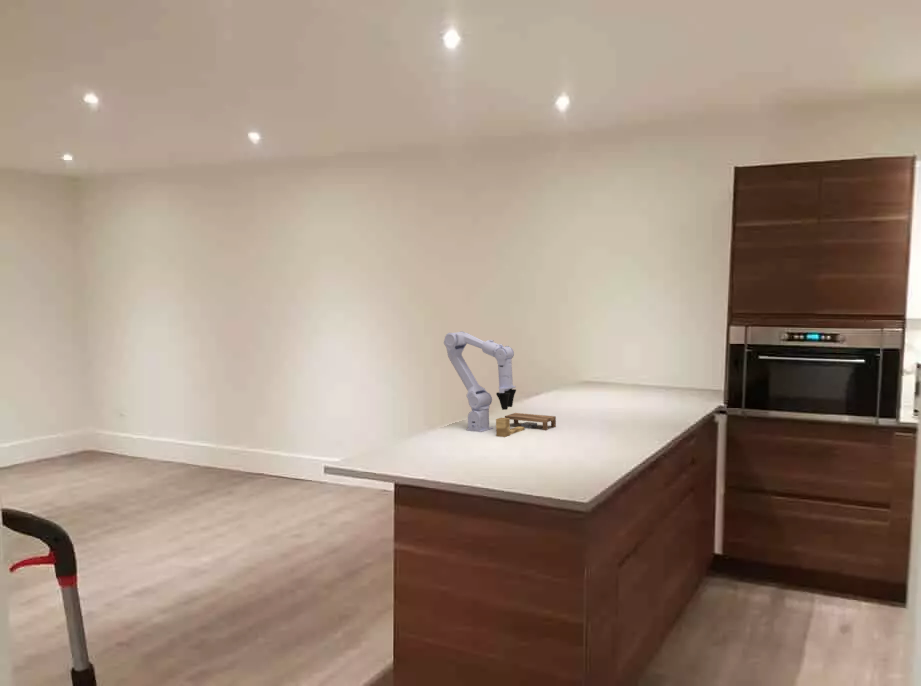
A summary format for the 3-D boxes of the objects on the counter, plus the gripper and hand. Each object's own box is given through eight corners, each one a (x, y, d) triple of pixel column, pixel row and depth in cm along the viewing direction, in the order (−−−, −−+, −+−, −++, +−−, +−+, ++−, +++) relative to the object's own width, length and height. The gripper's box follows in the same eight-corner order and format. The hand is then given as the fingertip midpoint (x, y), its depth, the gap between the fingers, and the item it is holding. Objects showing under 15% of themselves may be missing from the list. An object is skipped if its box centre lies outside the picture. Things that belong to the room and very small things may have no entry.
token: (531, 429, 319) (531, 424, 319) (521, 428, 322) (521, 423, 321) (537, 427, 323) (536, 422, 323) (526, 426, 326) (526, 421, 326)
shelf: (545, 430, 314) (545, 419, 313) (505, 426, 325) (504, 415, 325) (555, 426, 321) (555, 416, 321) (515, 422, 332) (515, 412, 332)
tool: (504, 437, 302) (504, 419, 301) (496, 436, 304) (496, 419, 304) (525, 429, 316) (525, 413, 315) (517, 429, 318) (517, 412, 318)
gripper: (510, 377, 303) (512, 410, 303) (519, 373, 316) (520, 405, 317) (493, 377, 305) (495, 410, 306) (503, 374, 319) (504, 405, 319)
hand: (507, 408), depth 311 cm, fingers open, 7 cm apart
